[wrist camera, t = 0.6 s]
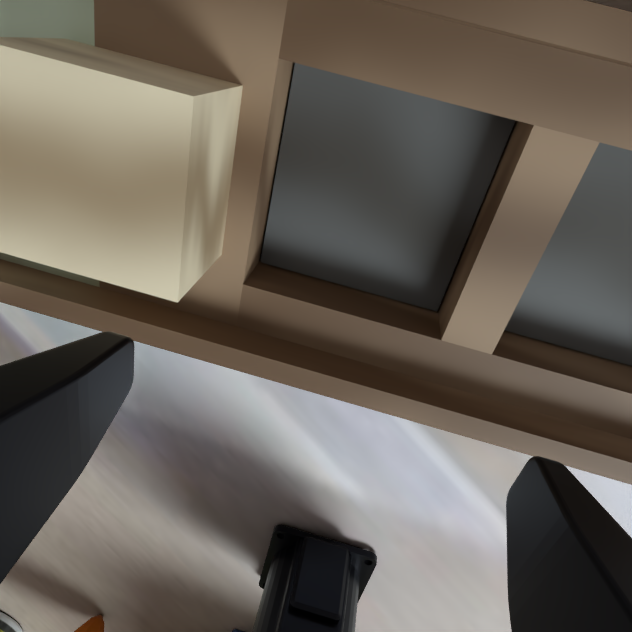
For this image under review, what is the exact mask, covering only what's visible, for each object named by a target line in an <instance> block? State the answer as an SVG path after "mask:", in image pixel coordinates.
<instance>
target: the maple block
mask: <svg viewBox="0 0 632 632" xmlns="http://www.w3.org/2000/svg"><path fill="white" fill-rule="evenodd" d="M242 89H243V85H239V84H236V83H232V82H228V81H224V80H221V79H217V78H213V77H209V76H205V75H202V74H198V73H194V72H190V71H187V70H183V69H179V68H175V67H171V66H168V65H164V64H160V63H156V62H152V61H149V60H145V59H141V58H137V57H134V56H130V55H126V54H122V53H118V52H115V51H111V50H107V49H103V48H99V47H96V46H92V45H88V44H84V43H81V42H77V41H73V40H69V39H64V38H24V37H0V252H1V253H5V254H8V255H12V256H15V257H19V258H22V259H26V260H29V261H33V262H36V263H40V264H44V265H47V266H51V267H54V268H58V269H61V270H65V271H68V272H72V273H75V274H79V275H82V276H86V277H89V278H93V279H96V280H100V281H103V282H107V283H110V284H114V285H117V286H121V287H124V288H128V289H131V290H135V291H138V292H142V293H145V294H149V295H152V296H156V297H159V298H163V299H166V300H170V301H173V302H177V303H178V302H179V301H180V299H181V298H182V297H183V296H184V295H185V294H186V293H187V292H188V291H189V290H190V289H191V287H192V286H193V285H194V284H195V283H196V282H197V281H198V280H199V279H200V278H201V277H202V276H203V274H204V273H205V272H206V271H207V270H208V269H209V268H210V267H211V266H212V265H213V264H214V262H215V261H216V260H217V259H218V258H219V257H220V256H221V255H222V247H223V239H224V231H225V224H226V216H227V208H228V200H229V192H230V184H231V176H232V168H233V160H234V152H235V144H236V136H237V128H238V120H239V112H240V105H241V97H242Z"/></svg>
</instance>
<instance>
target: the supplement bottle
mask: <svg viewBox="0 0 632 632" xmlns="http://www.w3.org/2000/svg"><path fill="white" fill-rule="evenodd" d="M0 632H23V631H22V628H21V627H20V625H19V624H18V623H17V622H16V621H15V620H13V619H12V618H11V617H9V616H7V615H6V614H4V613H2V612H0Z"/></svg>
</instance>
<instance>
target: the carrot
mask: <svg viewBox="0 0 632 632" xmlns="http://www.w3.org/2000/svg"><path fill="white" fill-rule="evenodd" d="M74 632H104V621H103V617H102V615H97V616H95V617H92V618H91V619H89V620H88V621H87V622H86V623H84V624H83V625H82V626H80V627H79V628H78V629H77V630H75V631H74Z"/></svg>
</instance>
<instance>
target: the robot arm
mask: <svg viewBox="0 0 632 632" xmlns="http://www.w3.org/2000/svg"><path fill="white" fill-rule="evenodd" d="M133 375H134V342H133V340H132V339H131V338H130V337H128V336H125V335H121V334H118V333H115V332H110V331H106V332H102V333H99V334H96V335H93V336H90V337H87V338H84V339H81V340H78V341H75V342H71V343H68V344H65V345H62V346H59V347H56V348H53V349H50V350H47V351H44V352H41V353H38V354H35V355H32V356H29V357H26V358H23V359H20V360H17V361H14V362H11V363H8V364H5V365H1V366H0V584H1V582H2V581H3V579H4V578H5V577H6V575H7V574H8V573H9V571H10V570H11V569H12V567H13V566H14V565H15V563H16V562H17V560H18V559H19V558H20V556H21V555H22V554H23V552H24V551H25V550H26V548H27V547H28V546H29V544H30V543H31V541H32V540H33V539H34V537H35V536H36V535H37V533H38V532H39V531H40V529H41V528H42V527H43V525H44V524H45V522H46V521H47V520H48V518H49V517H50V516H51V514H52V513H53V512H54V510H55V509H56V508H57V506H58V505H59V503H60V502H61V501H62V499H63V498H64V497H65V495H66V494H67V493H68V491H69V490H70V489H71V487H72V486H73V484H74V483H75V482H76V480H77V479H78V477H79V476H80V474H81V473H82V471H83V470H84V468H85V467H86V465H87V463H88V462H89V460H90V458H91V457H92V455H93V453H94V451H95V450H96V448H97V446H98V445H99V443H100V441H101V439H102V438H103V436H104V434H105V433H106V431H107V429H108V427H109V426H110V424H111V422H112V420H113V419H114V417H115V415H116V414H117V412H118V410H119V408H120V407H121V405H122V403H123V402H124V400H125V398H126V396H127V395H128V393H129V391H130V389H131V386H132V383H133ZM506 519H507V574H508V602H509V612H510V621H511V629H512V632H632V538H631V537H630V536H629V535H628V534H627V533H626V531H625V530H624V529H623V528H622V527H621V526H620V525H619V524H618V523H617V522H616V521H615V520H614V519H613V517H612V516H611V515H610V514H609V513H608V512H607V511H606V510H605V509H604V508H603V507H602V506H601V505H600V503H599V502H598V501H597V500H596V499H595V498H594V497H593V496H592V495H591V494H590V493H589V492H588V490H587V489H586V488H585V487H584V486H583V485H582V484H581V483H580V482H579V481H578V480H577V479H576V478H575V476H574V475H573V474H572V473H571V472H570V471H569V470H568V469H567V468H566V467H565V466H564V465H563V464H562V463H560V462H557V461H554V460H551V459H547V458H544V457H540V456H534V457H532V458H530V459H529V461H528V462H527V463H526V465H525V466H524V468H523V469H522V471H521V473H520V474H519V476H518V477H517V479H516V480H515V482H514V483H513V485H512V486H511V488H510V490H509V492H508V496H507V501H506ZM376 563H377V556H376V554H374V553H373V552H370V551H367V550H363V549H360V548H357V547H354V546H350V545H347V544H344V543H340V542H337V541H334V540H330V539H327V538H324V537H320V536H317V535H314V534H310V533H307V532H304V531H300V530H297V529H294V528H291V527H287V526H284V525H277V526H275V528H274V531H273V535H272V538H271V542H270V546H269V549H268V553H267V556H266V560H265V563H264V567H263V571H262V574H261V578H260V581H259V586H260V587H261V588H263V589H264V591H263V595H262V598H261V602H260V606H259V609H258V613H257V617H256V620H255V624H254V628H253V631H252V632H355V623H356V613H357V603H358V601H359V599H360V597H361V595H362V593H363V591H364V589H365V587H366V585H367V583H368V581H369V579H370V577H371V575H372V573H373V571H374V569H375V567H376Z"/></svg>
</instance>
